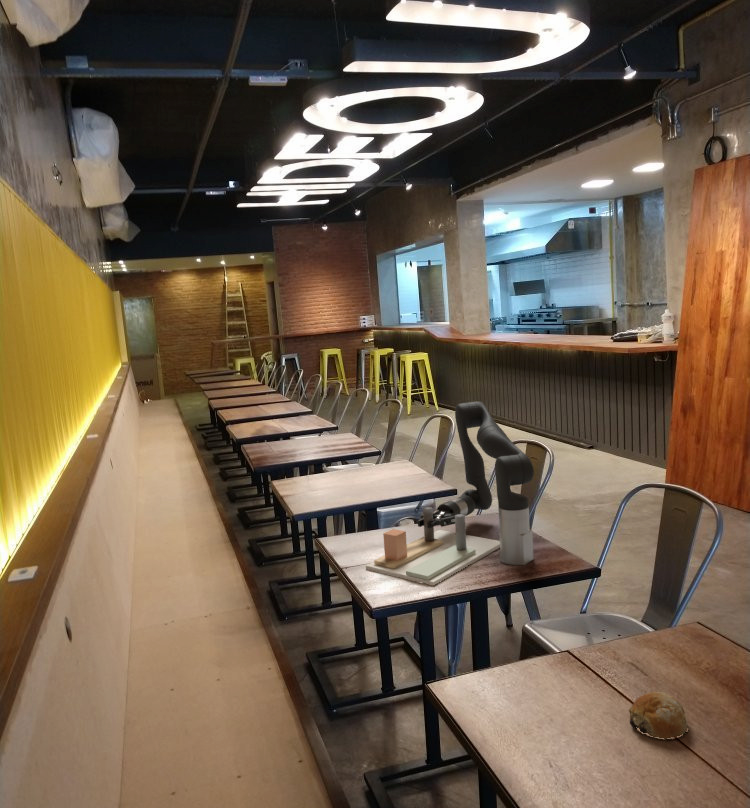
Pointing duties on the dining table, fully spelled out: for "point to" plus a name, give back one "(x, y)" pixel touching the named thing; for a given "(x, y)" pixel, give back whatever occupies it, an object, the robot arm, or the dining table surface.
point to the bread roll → (658, 715)
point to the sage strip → (445, 555)
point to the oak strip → (415, 544)
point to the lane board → (449, 540)
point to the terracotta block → (395, 544)
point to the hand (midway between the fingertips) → (423, 524)
